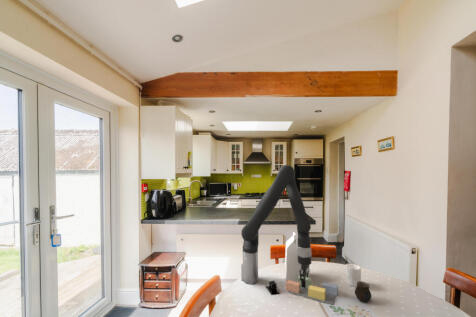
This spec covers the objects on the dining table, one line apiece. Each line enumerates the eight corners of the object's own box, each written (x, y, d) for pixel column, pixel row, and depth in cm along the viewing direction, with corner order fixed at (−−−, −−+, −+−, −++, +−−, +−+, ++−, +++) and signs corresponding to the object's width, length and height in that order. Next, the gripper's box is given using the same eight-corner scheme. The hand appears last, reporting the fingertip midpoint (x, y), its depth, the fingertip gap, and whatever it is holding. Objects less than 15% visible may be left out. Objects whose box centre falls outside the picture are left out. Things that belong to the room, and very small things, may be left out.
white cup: (346, 286, 124) (346, 268, 124) (345, 279, 131) (345, 262, 132) (362, 289, 121) (361, 270, 122) (360, 282, 128) (359, 264, 129)
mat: (288, 292, 118) (288, 291, 118) (295, 281, 129) (295, 281, 129) (333, 305, 107) (333, 304, 107) (335, 292, 118) (335, 291, 118)
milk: (285, 271, 143) (284, 230, 144) (303, 272, 141) (302, 231, 142) (286, 280, 131) (285, 236, 132) (306, 281, 129) (305, 236, 131)
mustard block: (308, 296, 114) (308, 288, 114) (309, 292, 117) (309, 284, 117) (324, 300, 110) (324, 292, 110) (325, 296, 113) (325, 288, 113)
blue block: (322, 292, 117) (322, 284, 118) (323, 289, 120) (323, 281, 121) (337, 295, 114) (336, 287, 114) (337, 292, 117) (337, 284, 117)
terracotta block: (285, 289, 120) (285, 282, 120) (287, 286, 123) (287, 279, 123) (298, 293, 116) (298, 285, 116) (300, 290, 119) (300, 282, 120)
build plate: (283, 296, 115) (283, 287, 115) (270, 298, 114) (270, 289, 114) (274, 284, 127) (274, 276, 128) (262, 286, 126) (262, 277, 126)
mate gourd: (362, 294, 116) (361, 275, 116) (375, 303, 108) (375, 282, 109) (351, 297, 113) (351, 277, 113) (364, 306, 106) (364, 285, 106)
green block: (297, 285, 124) (297, 278, 125) (299, 282, 127) (299, 275, 128) (310, 288, 121) (310, 281, 121) (311, 285, 124) (311, 278, 124)
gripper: (300, 249, 133) (301, 277, 132) (294, 257, 121) (295, 288, 120) (313, 251, 129) (314, 280, 129) (308, 260, 117) (309, 292, 116)
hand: (305, 284), depth 124 cm, fingers open, 6 cm apart
